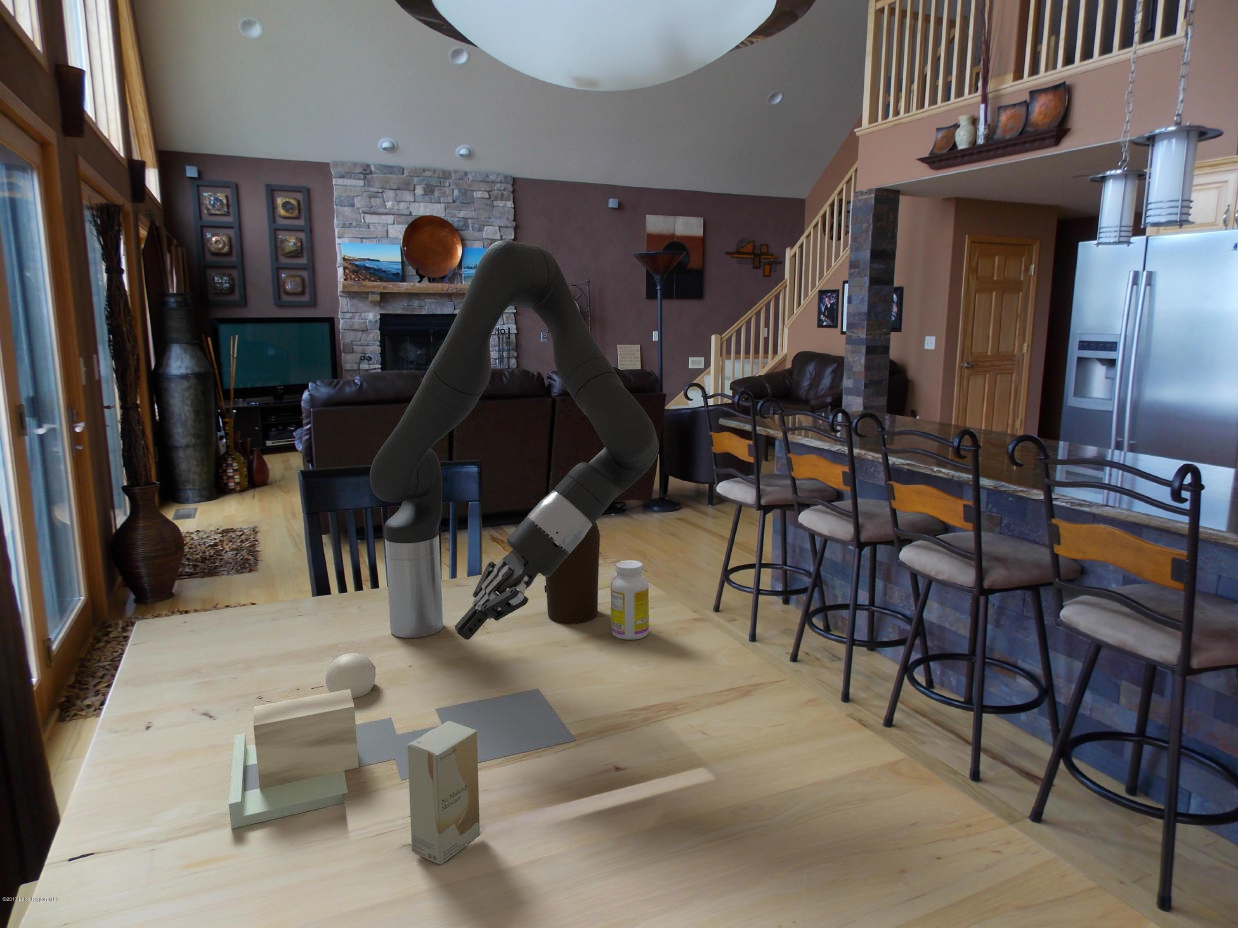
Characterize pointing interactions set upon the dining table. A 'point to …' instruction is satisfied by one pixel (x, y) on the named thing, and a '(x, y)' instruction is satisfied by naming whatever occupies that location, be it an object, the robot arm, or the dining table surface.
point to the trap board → (396, 753)
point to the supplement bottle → (629, 601)
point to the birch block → (305, 738)
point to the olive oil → (576, 582)
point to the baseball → (351, 674)
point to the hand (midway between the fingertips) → (460, 634)
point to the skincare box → (443, 791)
